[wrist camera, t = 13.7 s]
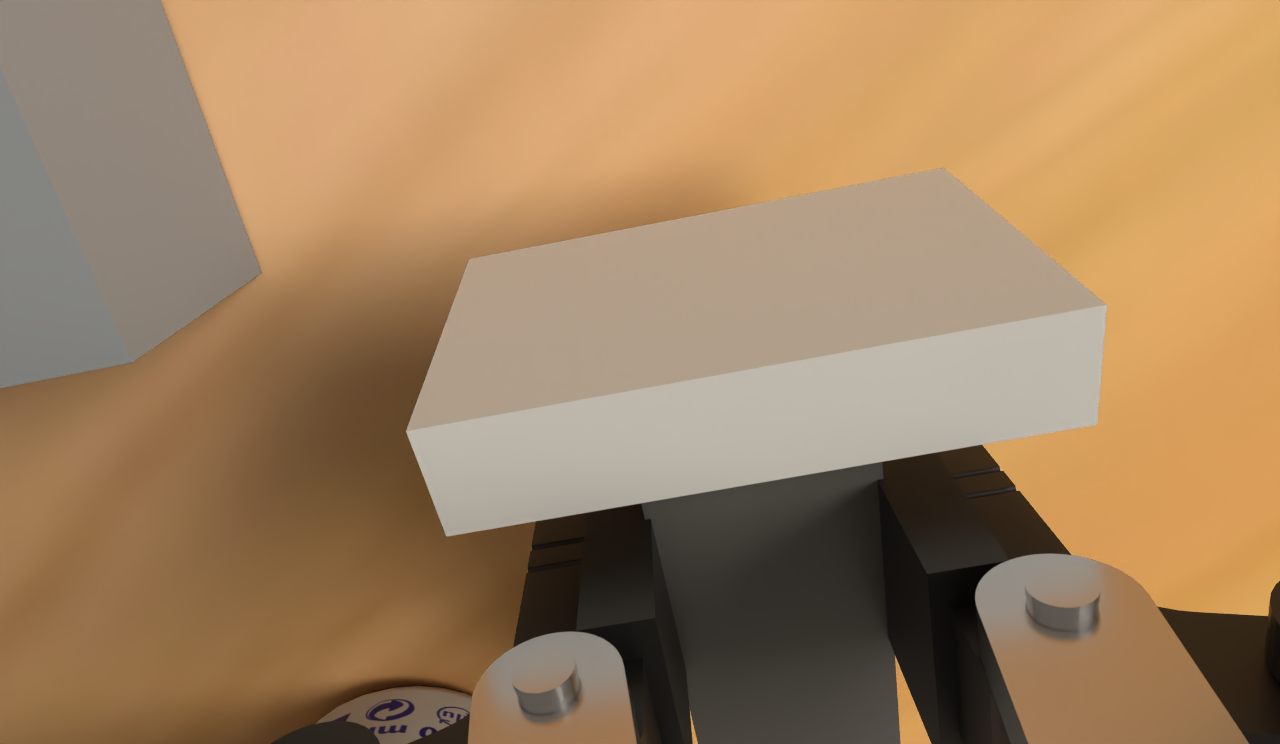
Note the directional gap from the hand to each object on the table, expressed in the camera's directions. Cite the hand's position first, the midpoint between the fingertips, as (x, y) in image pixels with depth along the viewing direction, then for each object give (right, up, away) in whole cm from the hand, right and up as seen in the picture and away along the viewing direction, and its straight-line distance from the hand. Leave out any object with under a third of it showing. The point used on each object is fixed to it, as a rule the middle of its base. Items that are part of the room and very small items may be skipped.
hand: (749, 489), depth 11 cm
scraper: (0, 0, +2) cm, 2 cm away
